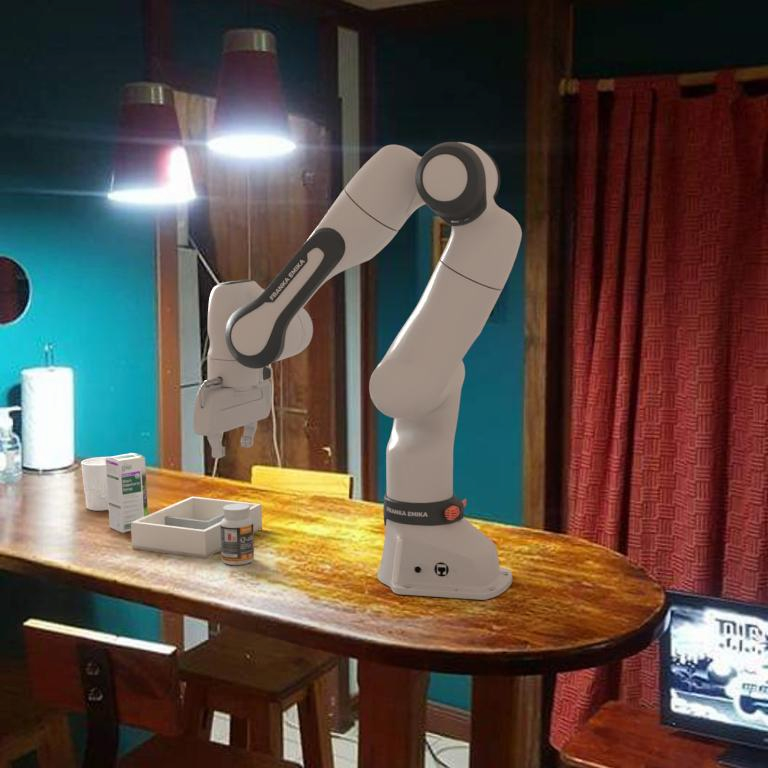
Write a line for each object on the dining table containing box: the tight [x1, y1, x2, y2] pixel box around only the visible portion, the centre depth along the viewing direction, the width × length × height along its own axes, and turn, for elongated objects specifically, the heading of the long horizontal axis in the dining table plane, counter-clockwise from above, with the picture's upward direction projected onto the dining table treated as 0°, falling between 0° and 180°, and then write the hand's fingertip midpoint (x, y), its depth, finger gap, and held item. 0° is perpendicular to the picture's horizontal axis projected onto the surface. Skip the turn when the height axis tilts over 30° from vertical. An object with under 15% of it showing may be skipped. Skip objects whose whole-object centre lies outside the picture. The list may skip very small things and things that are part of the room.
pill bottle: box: [220, 504, 255, 566], centre depth 183 cm, size 6×6×10 cm
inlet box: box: [130, 496, 263, 559], centre depth 197 cm, size 16×20×5 cm
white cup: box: [80, 456, 109, 512], centre depth 220 cm, size 8×8×10 cm
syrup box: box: [105, 452, 149, 534], centre depth 203 cm, size 6×6×14 cm
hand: (233, 451), depth 181 cm, fingers open, 8 cm apart
